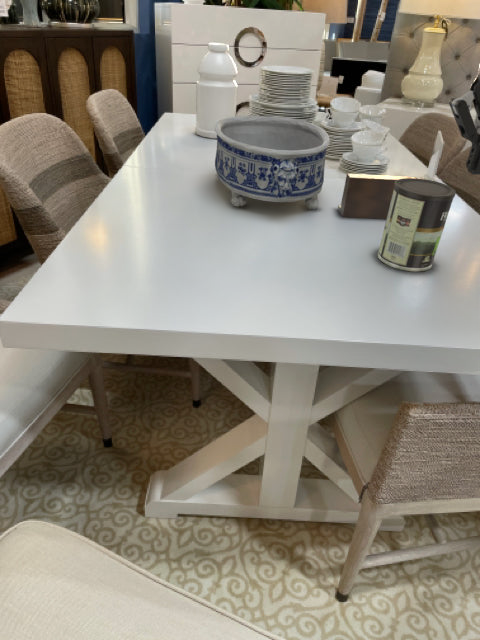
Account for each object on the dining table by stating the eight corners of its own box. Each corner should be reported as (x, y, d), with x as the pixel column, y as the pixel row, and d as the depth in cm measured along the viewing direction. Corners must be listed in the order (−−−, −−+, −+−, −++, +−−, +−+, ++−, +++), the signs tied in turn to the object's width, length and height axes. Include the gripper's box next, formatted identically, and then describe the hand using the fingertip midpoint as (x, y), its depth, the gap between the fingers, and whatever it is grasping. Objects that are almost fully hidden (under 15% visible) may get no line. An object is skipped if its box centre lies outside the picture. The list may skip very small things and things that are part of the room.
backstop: (403, 212, 112) (413, 174, 107) (410, 220, 108) (421, 181, 103) (337, 209, 111) (344, 170, 106) (342, 217, 107) (350, 177, 102)
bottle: (238, 133, 172) (244, 44, 157) (229, 141, 161) (234, 46, 146) (202, 128, 174) (203, 41, 159) (190, 136, 163) (191, 42, 148)
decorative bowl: (342, 223, 103) (356, 153, 95) (222, 222, 99) (226, 149, 91) (296, 168, 138) (303, 113, 130) (205, 165, 134) (207, 108, 126)
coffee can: (432, 254, 93) (455, 183, 85) (431, 276, 84) (456, 200, 77) (379, 243, 95) (397, 174, 88) (373, 264, 87) (392, 189, 79)
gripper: (487, 27, 54) (441, 178, 63) (595, 36, 55) (534, 183, 64) (458, 25, 60) (420, 163, 70) (555, 33, 61) (505, 168, 71)
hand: (475, 173), depth 67 cm, fingers closed
